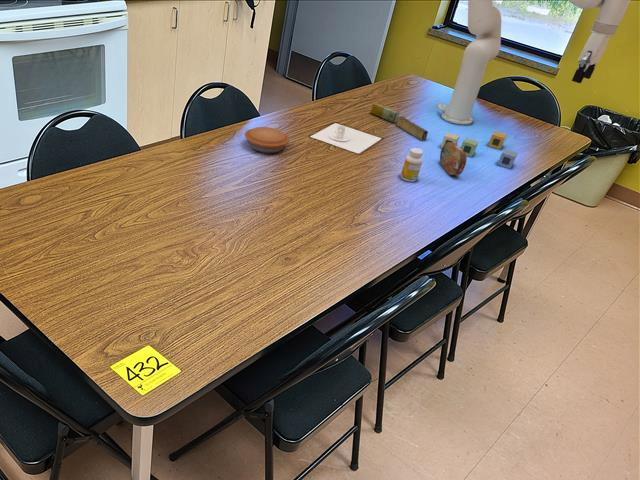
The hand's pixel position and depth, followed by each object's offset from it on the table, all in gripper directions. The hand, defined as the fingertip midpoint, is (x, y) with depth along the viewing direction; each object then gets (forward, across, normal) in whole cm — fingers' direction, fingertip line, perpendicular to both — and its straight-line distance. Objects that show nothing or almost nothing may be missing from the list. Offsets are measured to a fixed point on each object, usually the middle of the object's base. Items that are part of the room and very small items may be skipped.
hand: (580, 79), depth 204 cm
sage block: (+27, +33, -18) cm, 47 cm away
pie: (+27, +93, -65) cm, 117 cm away
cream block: (+27, +35, -25) cm, 51 cm away
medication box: (+27, +30, -57) cm, 70 cm away
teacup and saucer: (+27, +61, -54) cm, 86 cm away
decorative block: (+27, +34, -42) cm, 60 cm away
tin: (+27, +53, -16) cm, 62 cm away
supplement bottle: (+27, +72, -21) cm, 79 cm away
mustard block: (+27, +16, -15) cm, 35 cm away
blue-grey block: (+27, +30, -5) cm, 41 cm away
